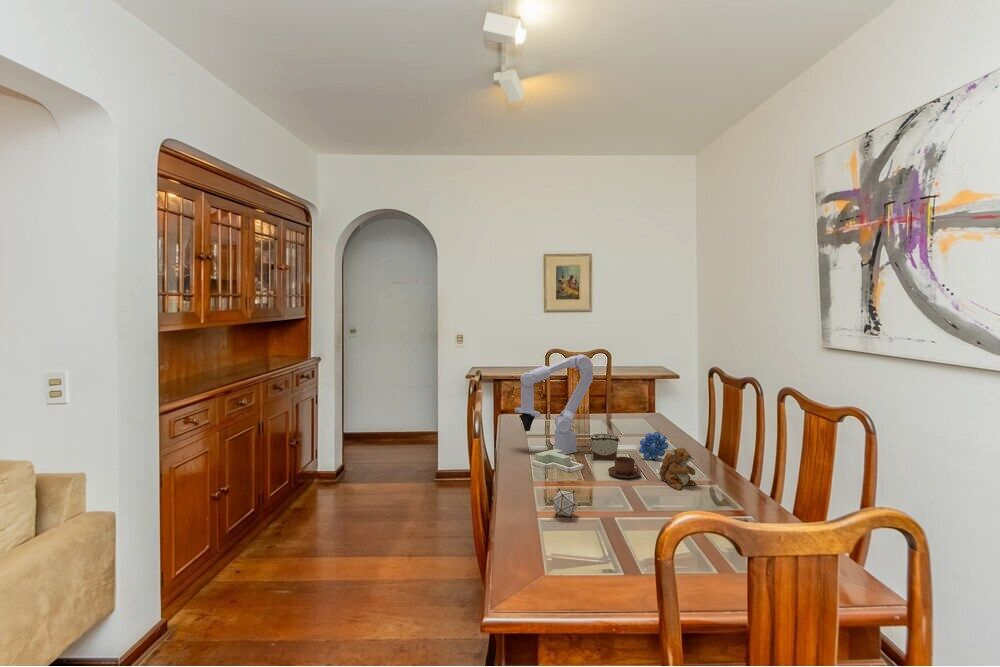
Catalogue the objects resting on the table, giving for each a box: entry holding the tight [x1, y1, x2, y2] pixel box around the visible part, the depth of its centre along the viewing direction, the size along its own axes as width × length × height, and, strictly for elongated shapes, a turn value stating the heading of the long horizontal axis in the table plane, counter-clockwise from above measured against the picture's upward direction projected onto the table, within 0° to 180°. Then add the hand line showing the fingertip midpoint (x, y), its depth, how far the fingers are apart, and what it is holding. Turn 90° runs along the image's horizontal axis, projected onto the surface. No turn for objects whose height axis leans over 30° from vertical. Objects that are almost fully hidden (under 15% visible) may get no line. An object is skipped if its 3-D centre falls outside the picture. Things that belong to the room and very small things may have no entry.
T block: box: [534, 448, 571, 468], centre depth 207 cm, size 12×12×4 cm
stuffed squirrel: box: [658, 447, 697, 491], centre depth 184 cm, size 10×14×13 cm
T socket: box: [532, 456, 585, 473], centre depth 205 cm, size 16×17×2 cm
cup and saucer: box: [607, 456, 642, 479], centre depth 192 cm, size 12×12×6 cm
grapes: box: [638, 431, 669, 460], centre depth 213 cm, size 12×7×12 cm, turn 70°
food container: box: [589, 433, 621, 462], centre depth 215 cm, size 12×6×10 cm, turn 84°
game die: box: [549, 487, 581, 520], centre depth 154 cm, size 9×8×10 cm
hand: (527, 430), depth 225 cm, fingers closed
